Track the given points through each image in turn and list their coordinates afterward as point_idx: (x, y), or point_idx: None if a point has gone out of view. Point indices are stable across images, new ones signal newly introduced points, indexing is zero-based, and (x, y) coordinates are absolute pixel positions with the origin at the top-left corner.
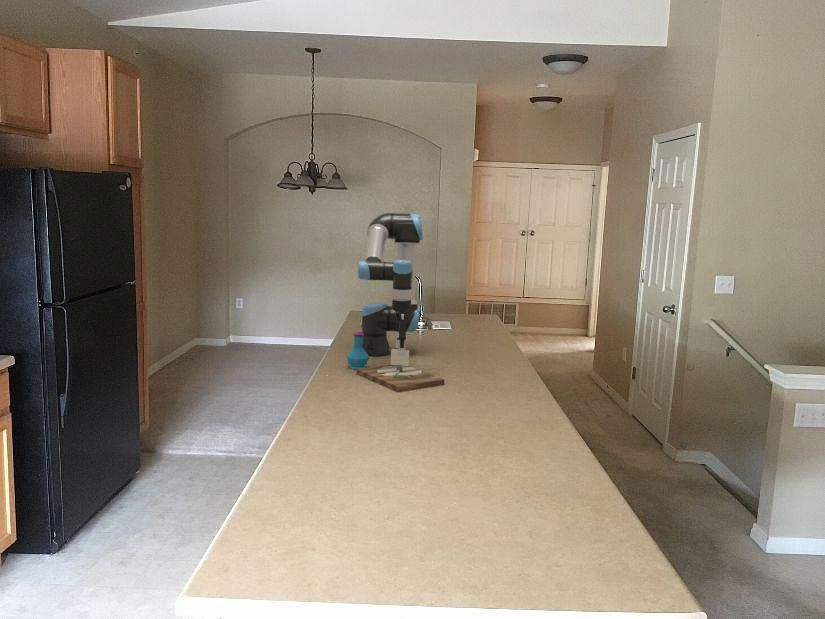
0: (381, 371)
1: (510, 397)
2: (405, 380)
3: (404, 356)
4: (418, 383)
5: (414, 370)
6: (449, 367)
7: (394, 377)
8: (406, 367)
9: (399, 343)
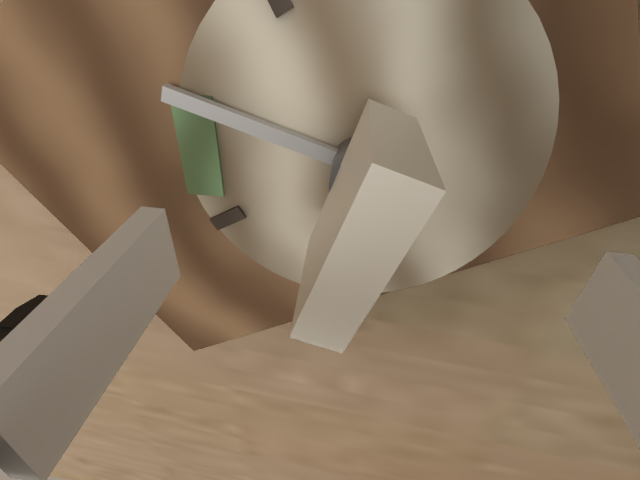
0: None
1: (93, 440)
2: (112, 164)
3: (309, 267)
4: (70, 229)
5: None
6: (521, 408)
7: None
8: (477, 228)
9: (23, 345)
